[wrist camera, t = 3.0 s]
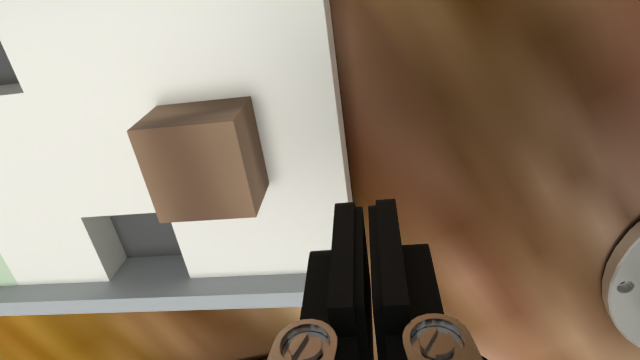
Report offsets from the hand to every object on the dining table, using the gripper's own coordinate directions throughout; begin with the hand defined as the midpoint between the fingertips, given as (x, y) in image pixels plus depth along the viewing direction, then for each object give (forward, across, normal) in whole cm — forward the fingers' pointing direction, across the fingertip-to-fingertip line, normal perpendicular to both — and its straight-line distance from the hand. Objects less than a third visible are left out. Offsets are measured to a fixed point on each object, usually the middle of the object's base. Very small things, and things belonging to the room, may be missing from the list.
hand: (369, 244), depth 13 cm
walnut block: (+9, +7, 0) cm, 12 cm away
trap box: (+12, +15, 0) cm, 19 cm away
